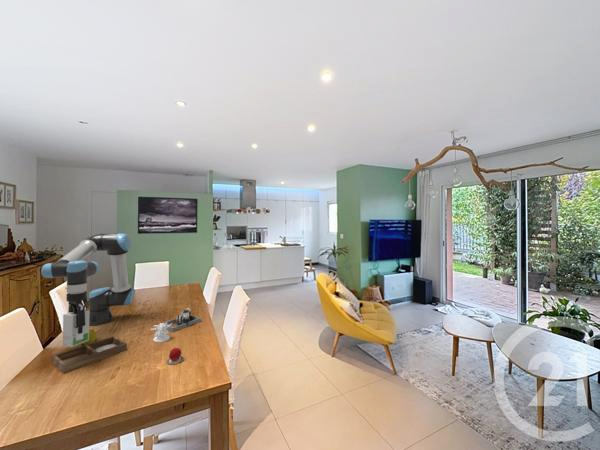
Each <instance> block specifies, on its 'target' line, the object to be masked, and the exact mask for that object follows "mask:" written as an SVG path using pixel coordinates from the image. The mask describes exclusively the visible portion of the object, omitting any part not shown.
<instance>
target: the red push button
mask: <svg viewBox="0 0 600 450" xmlns="http://www.w3.org/2000/svg"><path fill="white" fill-rule="evenodd" d="M183 360H185V359H184V356H183V355H182V350H181V349H180V348H179V347H174V348H172V349H171V350H170V351H169V355H168V359H167V360H166V362H165V363H166V364H168V365H175V364H179V363H181V362H183Z"/></svg>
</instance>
